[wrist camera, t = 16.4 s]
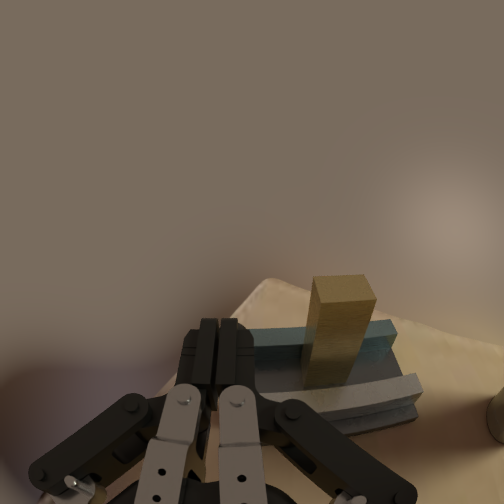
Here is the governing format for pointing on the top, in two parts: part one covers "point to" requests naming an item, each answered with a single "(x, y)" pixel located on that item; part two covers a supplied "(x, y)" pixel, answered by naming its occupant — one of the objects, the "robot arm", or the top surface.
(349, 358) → the block
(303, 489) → the top surface
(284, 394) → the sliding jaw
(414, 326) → the top surface
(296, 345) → the vise
